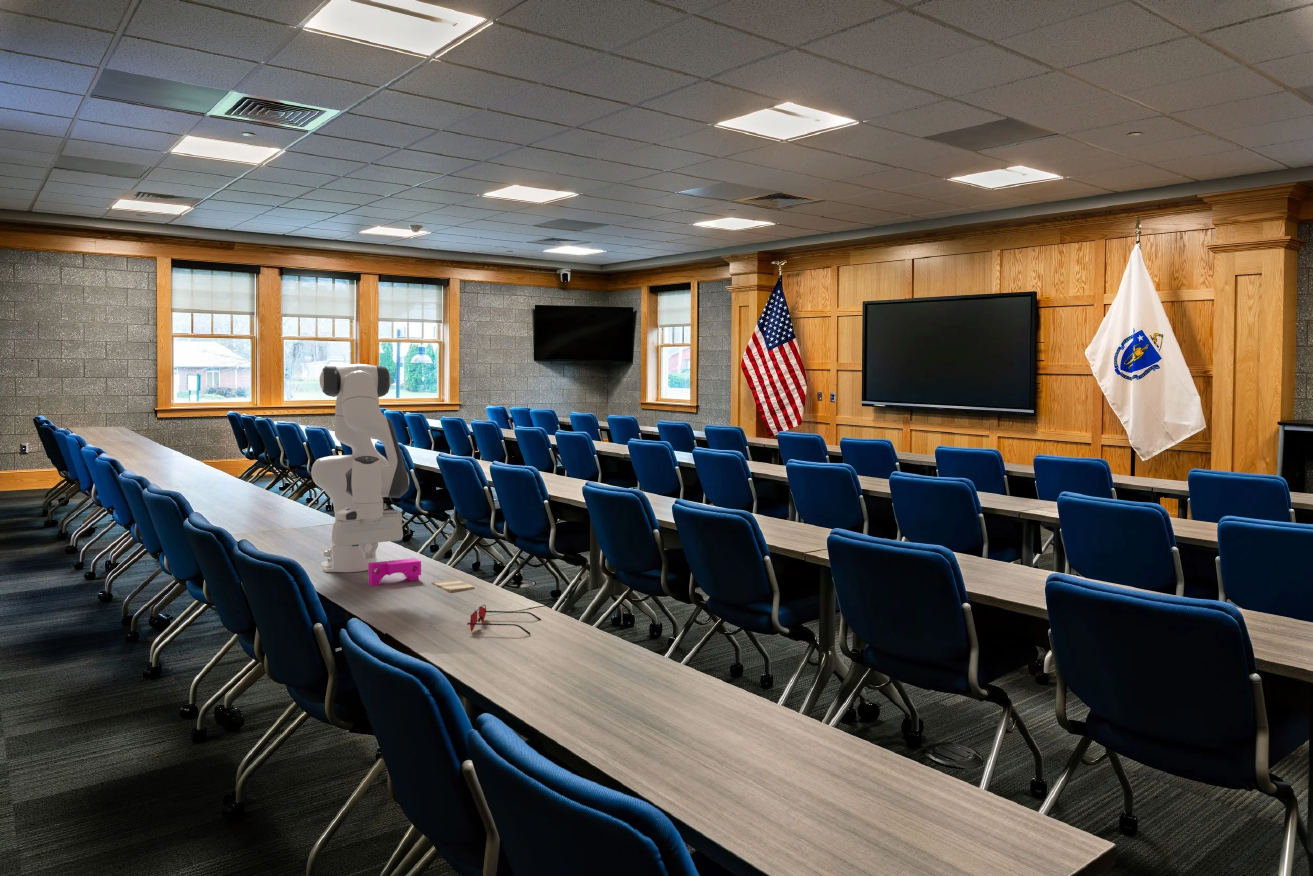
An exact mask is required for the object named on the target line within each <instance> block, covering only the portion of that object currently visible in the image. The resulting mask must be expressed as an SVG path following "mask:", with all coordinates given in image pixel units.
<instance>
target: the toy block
mask: <svg viewBox="0 0 1313 876" xmlns="http://www.w3.org/2000/svg"><path fill="white" fill-rule="evenodd" d="M367 572H368V573H367V574H368V585H370V586H371V587H374V586H375V587H376V586H379V585H380V583H381V581H382V580H383V578H384V577H385V576H386V575H387V576H391V575H393V574H399V573H400V574H403V575H404V577H405V579H406V578H407V580H409V581H415V580H414V579H417V580H419V578H420V576H422V561H421V560H419V559H417V558H415V557H413V558H404V559H403V558H402V559H394V560H384V561H377V562H372V563H368V570H367Z"/></svg>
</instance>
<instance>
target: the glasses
mask: <svg viewBox="0 0 1313 876" xmlns="http://www.w3.org/2000/svg"><path fill="white" fill-rule="evenodd" d="M487 613H500V614H501V613H502V614H503V613H504V614H508V613H509V614H513V613H514V614H528V615H531V616H532V617H534V618H536V620H538V621H542V619H541V618H540V617H539V616H537V615H535V614H534V613H532V612H530V611H510V610H509V611H507V610H506V611H505V610H487V606H486V604H482V605H480V606H479V607H478V609H476V610H473V613H472V614H470V622H467V623H466V625H468V626H469V629H470V632H473V631H474V628H475V626H512V627H513V626H515V627H517V628H519V629H521V630H522V631H523V632H525V633H526V634H527V635H531V632H530V631H528V630H527V629H525V628H524V627H523V626H521V625H519V624H515V623H491V622H490V623H487V622H484V620H485V618H486V614H487Z"/></svg>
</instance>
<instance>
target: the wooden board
mask: <svg viewBox="0 0 1313 876" xmlns="http://www.w3.org/2000/svg"><path fill="white" fill-rule="evenodd" d="M431 584H432V585H434V586H435V587H438V588H440V589H441V590H444V591H446V592H448V593H456V592H461V591H467V590H474V589H475V586H474V585H471V584H469V583H466V582H463V581H461V580H458V579H457V578H456V579H455V578H454V579H447V580H439V581H431Z"/></svg>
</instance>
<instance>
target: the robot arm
mask: <svg viewBox="0 0 1313 876" xmlns="http://www.w3.org/2000/svg"><path fill="white" fill-rule="evenodd" d="M319 385H320V388H321V391H322V393H323V394H324V395H325V396H328V397H331V398H332V397H333V398H335V399H336V400H335V407H334V409H335V411H334V436H335V438H336V440H337V441H338V442H340V443H341V444H343V445H344V446H347V447H349V448H351V450H352V454H343V455H342V454H341V455H329V456H323V457H320V458H317V459H316V460H315V461H314V463H313V464H312V467H311V470H310V471H311V472H310V473H311V478H312V482H313V483H315V485H316V486H317V487H319V488H320V489H322V490H323V491H324V492H325V493H326V495H328V497H329V498H330V500H331V502H332V505H333V512H334V522H333V525H332V531H331V532H332V533H331V544H330V545H329V547H328V548H327V550H324V551H323V557H324V558H327V560H325V561H322V562H321V563H320V565H321V567H322V570H323V571H324V572H325V573H355V572H365V571H368V563H372V562H378V561H377V549H378V547H379V543H387V542H394V541H395V542H396V541H401V540H402V539H403V537H404V531H403V525H402V522H403V514H402V511H400V510H398V509H386V510H385V509H384V498H393V499H394V498H395V499H397V498H398V499H399V498H401V497H402V496H404V495H405V494H406V493H407V492H408V490H409V488H410V477H409V473H408V472H407V468H406V466H405V463H404V460H403V456H402V453H401V448H400V444H399V442H398V436H397V434H396V431H395V428H394V425H393V422H392V420H391V419H390V418H389V417H387V416H385V415H384V413H383V412H382V410H381V408H380V403H379V402H380V401H379V398H382V397H384V396H385V395H387V394H388V393H389V391H390V388H391V387H392V386H391V385H392V377H391V374H390V371H389V370H388V368H387V367H385V366H383V365H378V364H375V365H373V364H368V363H367V364H365V363H355V364H353V363H352V364H351V363H346V364H335V363H333V364H327V365H325V366H324V367H323V368H322V371H321V373H320V375H319ZM372 438H375V439H377V440H379V442H381V443H382V444H383V447H384V450H385V455H386V457H385V456H384V455H382V454H381V453H380V452H379V451H378V450H377V449H376V448H375V446H374V444H373V442H372Z"/></svg>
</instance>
